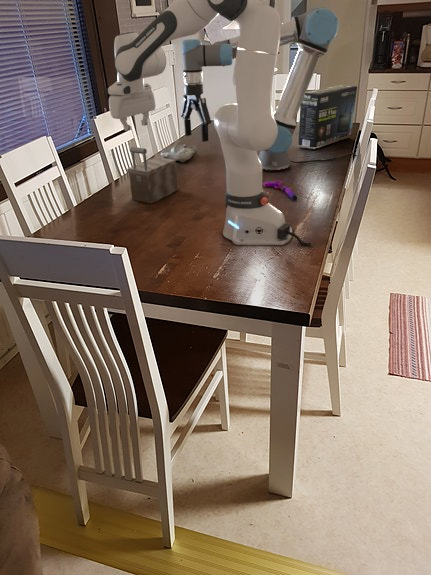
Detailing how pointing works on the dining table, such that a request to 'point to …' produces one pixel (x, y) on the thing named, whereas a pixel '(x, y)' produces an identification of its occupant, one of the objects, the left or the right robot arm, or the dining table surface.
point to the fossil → (179, 152)
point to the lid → (148, 163)
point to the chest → (153, 184)
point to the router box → (326, 115)
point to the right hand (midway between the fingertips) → (196, 138)
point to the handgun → (281, 185)
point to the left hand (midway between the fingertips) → (136, 127)
